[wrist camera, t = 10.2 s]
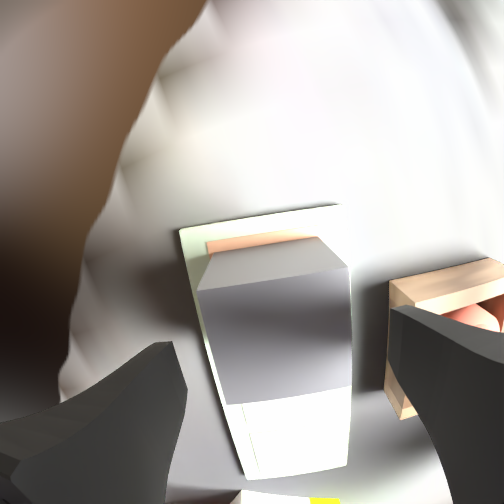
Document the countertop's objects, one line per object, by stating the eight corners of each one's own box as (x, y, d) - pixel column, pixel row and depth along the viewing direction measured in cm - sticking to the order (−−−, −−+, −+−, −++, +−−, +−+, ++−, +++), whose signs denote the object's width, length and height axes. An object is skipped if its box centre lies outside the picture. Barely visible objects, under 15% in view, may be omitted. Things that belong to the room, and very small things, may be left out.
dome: (475, 285, 16) (519, 312, 11) (465, 350, 17) (500, 384, 12) (414, 302, 16) (454, 338, 11) (407, 370, 17) (437, 413, 13)
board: (340, 204, 15) (344, 205, 14) (344, 460, 20) (346, 466, 19) (181, 228, 15) (178, 231, 14) (247, 474, 20) (246, 481, 19)
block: (317, 236, 14) (348, 266, 10) (326, 328, 16) (351, 385, 11) (214, 252, 15) (195, 291, 10) (233, 342, 16) (226, 405, 11)
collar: (489, 257, 15) (520, 272, 12) (474, 358, 17) (496, 380, 14) (389, 280, 16) (415, 302, 13) (383, 389, 18) (400, 420, 15)
